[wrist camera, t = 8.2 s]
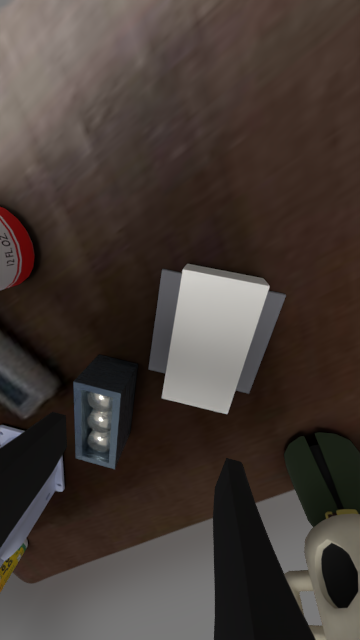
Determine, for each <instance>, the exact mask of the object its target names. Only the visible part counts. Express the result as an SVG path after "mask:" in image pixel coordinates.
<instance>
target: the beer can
mask: <svg viewBox="0 0 360 640" xmlns="http://www.w3.org/2000/svg"><path fill="white" fill-rule="evenodd" d="M34 256H35V255H34V249H33V243H32V241H31V239H30V237H29V234H28V232H27V231H26V229H25V228H24V227H23V225H22V224H21V223H20V221H19V220H18V219H17V218H16V217H15V216H14V215H13V214H11V213H10V212H9V211H8V210H6V209H5V208H2V207H0V290H3V289H6V288H9V287H13V286H16V285H19V284H20V283H22V282H23V281H24V280H25V279H27V278H28V277H29V275H30V273H31V271H32V269H33V266H34Z"/></svg>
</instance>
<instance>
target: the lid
mask: <svg viewBox="0 0 360 640" xmlns="http://www.w3.org/2000/svg"><path fill="white" fill-rule="evenodd" d="M269 287H270V286H269V285H268V283H267V282H266V281H265V280H264V278H260V277H254V276H249V275H244V274H239V273H234V272H228V271H223V270H218V269H213V268H208V267H202V266H197V265H192V264H187V265H186V266H185V267H184V268H183V271H182V277H181V284H180V290H179V296H178V302H177V308H176V314H175V320H174V326H173V332H172V338H171V344H170V350H169V356H168V362H167V369H166V375H165V381H164V387H163V393H162V398H163V399H167V400H171V401H175V402H179V403H183V404H187V405H191V406H195V407H200V408H204V409H208V410H212V411H216V412H220V413H224V414H228V411H229V408H230V405H231V402H232V399H233V396H234V393H235V390H236V387H237V384H238V381H239V378H240V375H241V372H242V369H243V366H244V363H245V360H246V357H247V354H248V351H249V348H250V345H251V342H252V339H253V335H254V332H255V329H256V326H257V323H258V320H259V317H260V314H261V311H262V308H263V305H264V302H265V299H266V296H267V293H268V290H269Z"/></svg>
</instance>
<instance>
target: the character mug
mask: <svg viewBox="0 0 360 640" xmlns="http://www.w3.org/2000/svg"><path fill="white" fill-rule="evenodd" d="M314 434H315V436H316V439H317V441H318V444H319V445H313V446H311V447H309V446H308V444H307V442H306V439H305V437H304V436H301V437H299V438H297V439H296V440H294V441H293V442H291V443H290V444H289V445H288V447H287V449H286V451H285V453H284V458H285V463H286V467H287V470H288V473H289V475H290V478H291V481H292V483H293V486H294V488H295V491H296V493H297V495H298V497H299V500H300V502H301V504H302V507H303V509H304V511H305V514H306V516H307V519H308V521H309V522H310V523H311V525H312V526H313V528H312V529H311V531H310V532H309V534H308V535H307V537H306V539H305V550H304V553H305V558H306V563H307V566H308V570H301V571H289V572H287V573H285V574H284V575H285V577H286V579H287V582H288V584H289V586H290V588H291V590H292V592H293V594H294V597H295V599H296V601H297V603H298V605H299V607H300V609H301V611H302V613H303V609H302V605H301V599H300V595H299V592H300V591H314V594H315V598H316V602H317V606H318V610H319V614H320V617H321V622H322V626H313V625H309V627H310V629H311V631H312V633H313V635H314V637H315V639H316V640H360V452H359V451H358V450H357V449H356V447H355V446H354V445H353V443H352V442H351V441H350V440H348V439H346V438H343V437H341V436H339V435H337V434H332V433H321V432H318V433H314ZM303 615H304V613H303Z"/></svg>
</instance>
